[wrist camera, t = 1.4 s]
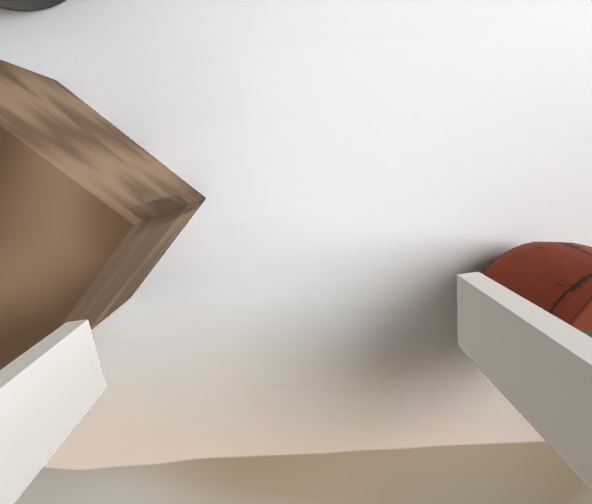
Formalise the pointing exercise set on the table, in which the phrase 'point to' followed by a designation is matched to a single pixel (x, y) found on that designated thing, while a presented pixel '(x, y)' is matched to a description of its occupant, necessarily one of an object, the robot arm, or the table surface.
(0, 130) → the cubby cabinet
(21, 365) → the robot arm
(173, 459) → the table surface
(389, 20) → the table surface
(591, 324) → the potted plant
